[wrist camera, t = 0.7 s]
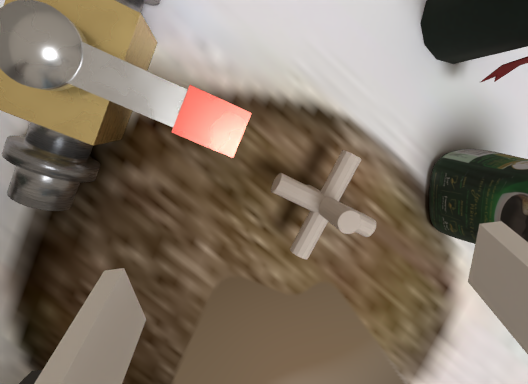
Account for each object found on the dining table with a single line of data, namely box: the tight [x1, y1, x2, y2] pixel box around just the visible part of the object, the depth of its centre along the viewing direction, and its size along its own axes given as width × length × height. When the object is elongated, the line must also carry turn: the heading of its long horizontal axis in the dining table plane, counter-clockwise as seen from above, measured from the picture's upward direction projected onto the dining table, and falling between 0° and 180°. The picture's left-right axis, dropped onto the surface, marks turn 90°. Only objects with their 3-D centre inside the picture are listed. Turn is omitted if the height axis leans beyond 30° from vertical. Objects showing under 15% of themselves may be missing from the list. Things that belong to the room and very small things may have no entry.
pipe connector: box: [271, 150, 376, 259], centre depth 29 cm, size 10×10×10 cm
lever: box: [0, 0, 252, 158], centre depth 19 cm, size 14×4×2 cm, turn 66°
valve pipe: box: [0, 0, 160, 211], centre depth 23 cm, size 22×7×9 cm, turn 156°
